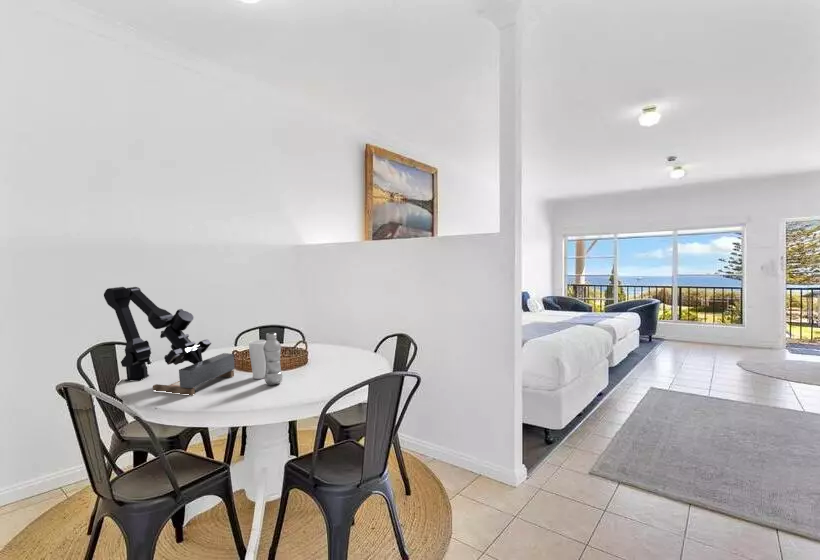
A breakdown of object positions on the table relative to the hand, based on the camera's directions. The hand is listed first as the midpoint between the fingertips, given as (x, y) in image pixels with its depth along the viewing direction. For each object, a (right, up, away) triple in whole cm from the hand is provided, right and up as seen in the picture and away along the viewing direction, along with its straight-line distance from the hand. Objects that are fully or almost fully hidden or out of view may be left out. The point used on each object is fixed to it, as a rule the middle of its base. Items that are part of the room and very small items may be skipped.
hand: (202, 366), depth 163 cm
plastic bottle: (+29, -7, -1) cm, 29 cm away
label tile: (-7, -7, +3) cm, 11 cm away
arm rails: (-4, -7, +2) cm, 8 cm away
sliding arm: (+3, -4, 0) cm, 5 cm away
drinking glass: (+20, -6, +7) cm, 22 cm away
